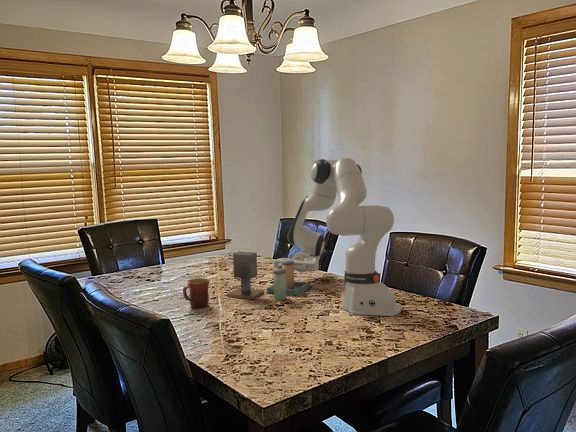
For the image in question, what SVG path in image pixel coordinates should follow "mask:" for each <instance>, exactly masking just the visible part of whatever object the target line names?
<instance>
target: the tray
mask: <svg viewBox="0 0 576 432" xmlns="http://www.w3.org/2000/svg"><path fill="white" fill-rule="evenodd" d="M309 288H310V282H307V281H306V282H304V281H296V280H294V289H293V290H292V289H286V296H292V295H296V296H295V297H298V296H299V295H301V294H302V293H304V292H305V291H307V290H308V289H309ZM306 289H307V290H306ZM303 291H304V292H303ZM301 292H302V293H301ZM266 293H267V294H272V293H274V283H273V284H271V285H270V286H267V288H266ZM300 293H301V294H300ZM297 295H298V296H297Z"/></svg>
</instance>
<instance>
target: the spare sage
mask: <svg viewBox="0 0 576 432" xmlns="http://www.w3.org/2000/svg"><path fill="white" fill-rule="evenodd" d="M272 273H273V284H274V294H273V299H275V300H274V301H285V300H287V295H286V270H285V269H278V268H275V269H273V270H272ZM284 299H285V300H284Z"/></svg>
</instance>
